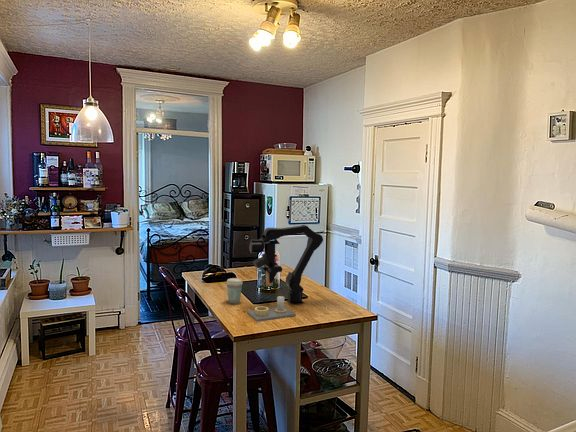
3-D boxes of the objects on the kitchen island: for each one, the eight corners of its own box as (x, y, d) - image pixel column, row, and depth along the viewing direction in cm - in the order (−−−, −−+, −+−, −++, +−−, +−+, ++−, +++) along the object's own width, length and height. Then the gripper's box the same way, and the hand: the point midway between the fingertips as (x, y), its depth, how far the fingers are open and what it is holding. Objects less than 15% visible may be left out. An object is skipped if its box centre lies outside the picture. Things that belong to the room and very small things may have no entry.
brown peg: (270, 284, 227) (271, 269, 226) (273, 285, 224) (273, 270, 223) (264, 284, 225) (264, 269, 224) (267, 286, 222) (267, 271, 221)
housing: (283, 307, 219) (284, 292, 219) (295, 315, 208) (296, 299, 207) (246, 312, 211) (247, 296, 210) (257, 321, 199) (257, 304, 198)
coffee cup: (222, 301, 228) (223, 279, 226) (236, 298, 233) (236, 276, 232) (231, 305, 221) (232, 282, 220) (245, 302, 227) (245, 280, 225)
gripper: (248, 250, 227) (248, 279, 229) (262, 256, 211) (261, 288, 212) (268, 248, 232) (267, 277, 234) (282, 255, 215) (282, 286, 217)
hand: (269, 282), depth 224 cm, fingers closed on brown peg, 3 cm apart
